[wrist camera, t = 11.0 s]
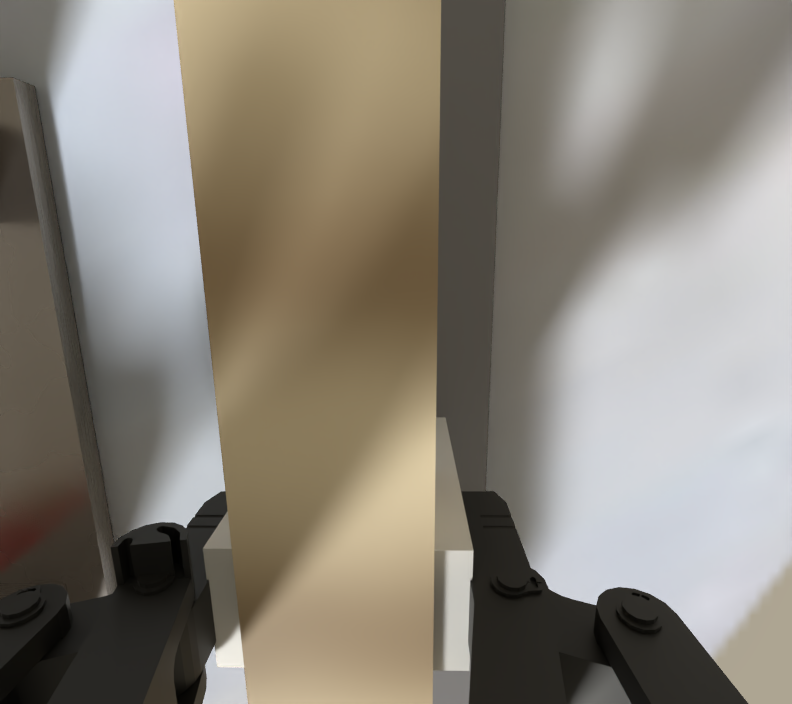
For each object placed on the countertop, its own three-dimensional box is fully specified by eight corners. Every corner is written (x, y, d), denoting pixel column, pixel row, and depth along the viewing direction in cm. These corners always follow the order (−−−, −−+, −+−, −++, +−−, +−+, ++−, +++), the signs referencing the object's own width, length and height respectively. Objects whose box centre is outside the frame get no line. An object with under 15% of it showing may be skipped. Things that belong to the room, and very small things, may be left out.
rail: (249, -29, 9) (154, -189, 6) (430, -32, 9) (443, -200, 6) (312, 856, 15) (284, 1042, 11) (423, 859, 15) (428, 1048, 11)
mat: (222, -14, 13) (214, -26, 13) (502, -20, 13) (507, -33, 13) (285, 741, 20) (282, 756, 19) (472, 744, 20) (474, 759, 19)
